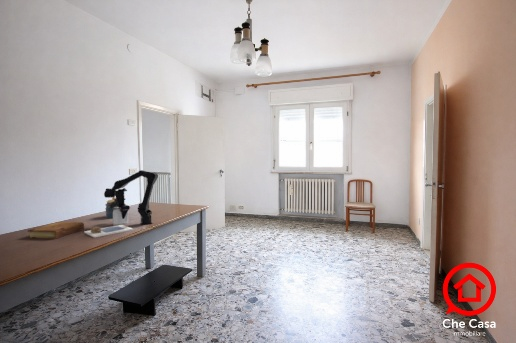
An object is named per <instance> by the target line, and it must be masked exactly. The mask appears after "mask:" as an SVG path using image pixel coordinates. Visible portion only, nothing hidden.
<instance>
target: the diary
mask: <svg viewBox="0 0 516 343" xmlns="http://www.w3.org/2000/svg"><path fill="white" fill-rule="evenodd" d="M84 229H85V223H84V222H82V221H80V222H78V221H75V222H74V221H73V222H72V221H68V222H67V221H58V222H55V223H50V224H46V225H42V226H39V227H34V228H31V229H27V233H29V238H32V237H36V238H35V239H50V240H51V239H52V240H56V239H60V238H62V237H65V236H68V235H70V234H74V233H77V232H79V231H82V230H84Z"/></svg>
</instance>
